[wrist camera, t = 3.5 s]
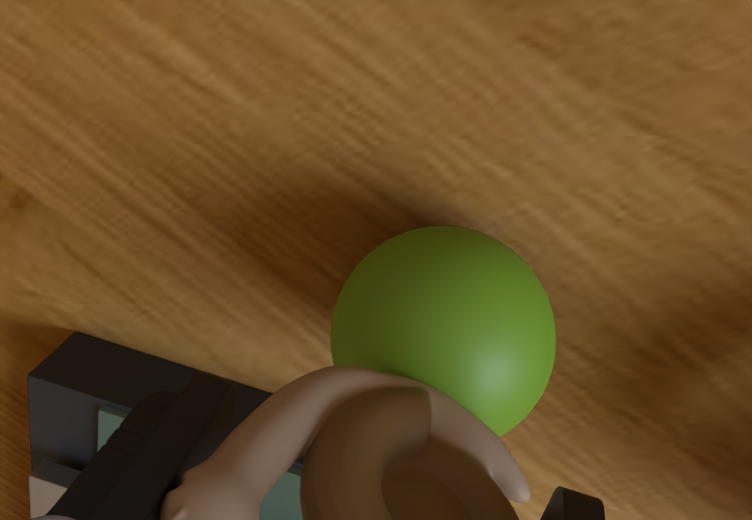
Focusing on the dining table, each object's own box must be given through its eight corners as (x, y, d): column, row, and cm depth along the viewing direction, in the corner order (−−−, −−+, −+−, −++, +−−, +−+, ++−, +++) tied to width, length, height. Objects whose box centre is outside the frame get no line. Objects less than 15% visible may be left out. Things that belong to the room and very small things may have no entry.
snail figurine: (384, 135, 18) (171, 469, 7) (594, 260, 18) (686, 751, 8) (297, 287, 20) (47, 695, 10) (482, 394, 21) (434, 893, 10)
